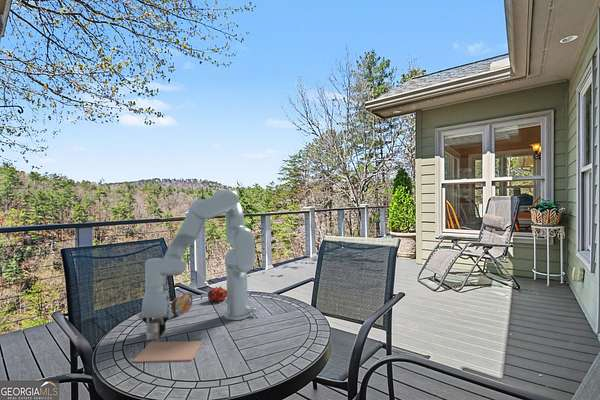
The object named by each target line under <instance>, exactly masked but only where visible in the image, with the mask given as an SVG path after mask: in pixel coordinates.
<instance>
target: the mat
mask: <svg viewBox="0 0 600 400" xmlns="http://www.w3.org/2000/svg"><path fill="white" fill-rule="evenodd" d="M203 342H204V341H203V340H187V341H150V342H149V343H148V344H147V345H146V346H145V348H143V349H142V351H141V352H140V353H139V354H138V355H137V356H135V358H134V359H133V360H132V363H160V362H161V363H162V362H163V363H164V362H192V361H193V359H194V358H195V356H196V355H197V353H198V351H199V349H200V348H201V346H202V344H204V343H203Z"/></svg>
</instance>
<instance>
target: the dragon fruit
mask: <svg viewBox="0 0 600 400" xmlns="http://www.w3.org/2000/svg"><path fill="white" fill-rule="evenodd" d="M222 287H223V286H219V287H218V286H216V287H211V289H209V291H208V292H207V297H208V298H207V299H208V300H209V301H212V302H213V303H215V302H217V303H220V302H221V301H225V300H226V298H227V289H225V288H222Z"/></svg>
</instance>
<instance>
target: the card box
mask: <svg viewBox="0 0 600 400" xmlns="http://www.w3.org/2000/svg"><path fill="white" fill-rule="evenodd" d="M166 323H167V321H166V322H165V331H166V330H167V328H166V327H167V326H166ZM145 325H146V324H145ZM160 325H161V322H160V317H156V318H152V320H151V321H150V322H149V323H148V324H147V325H146V340H149V341H150V340H158V339H159V337H161V335H160Z"/></svg>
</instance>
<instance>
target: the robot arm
mask: <svg viewBox="0 0 600 400" xmlns="http://www.w3.org/2000/svg"><path fill="white" fill-rule="evenodd" d="M222 214H223V215H224V217H225V234H226V241H227V243H228V244H229V245H230V246H232V247H234V248H231V249H230V250H228V251H227V253H226V254H225V256H224V265H225V271H226V273H225V274H226V290H227V296H226V311H225V312H224V313H223V317H224V318H225V319H226V320H228V321H229V320H230V321H241V320H245V319H247V318H249V317H250V316H251V315H252V313H257V312H258V307H256V306H250V305H249V303H248V274H247V273H248V272H251V270H253V268H254V266H255V263H256V252H255V251H256V247H255V243H256V242H255V236H254V234H253V231H252V230H251V229H250V228H248V227H245V226H246V225H245V214H244V210H243V208H242V206H241V204H240V197H239V194H238V192H237V191H235V190H233V189H219V190H217V191H215V192H214V193H213V195H212V196H210V197H208V198H205V199H204V198H203V199H197V200H196V199H195V200H194V201H193V202H192V203H191V205H190V207H189V209H188V210H187V213H186V215H185V218H184V220H183V221H182V224H181V226H180V227H179V230H178V232H177V233H176V234H175V236H174V238H173V239H172V240H171V242H170V244H169V246H168V247H167V248H166V249H167V250H166V251H165V254H164V256H163V258H162V257H153V258H152V257H151V258H149V259H147V260H145V262H144V273H145V274H144V275H145V276H144V279H145V281H144V282H145V284H144V285H145V292H144V293H143V297H142V304H141V312H140V313H139V314H138V316H137V317H138V318H139V319H141V321H143V322H144V323H145V325H147V324H148V323H149V322H150V321H151V320H152V319H153V318H156V317H160V322H161V325H160V336H162V335H163V334H164V333H165V332H166V330H165V322H166V323H167V321H168V320H170V319H171V318H173V317H174V316H175V315H174V314H173V313H172V311H171V300H170V295H169V291H168V290H169V288H170V286H169V285H167V283H166V276H179V275H181V274H183V273H184V272H185V271H186V268H187V262H186V261H185V260H184V258H183V256H184V254H185V252H187V249H188V247H189V246H191V244H193V243H194V242H195V241H197V239H198V238H199V237H200V235H201V232H202V230H203V228H204V226H205V223H206V221H207V220H209V219H213V218H216V217H218V216H220V215H222Z"/></svg>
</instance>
